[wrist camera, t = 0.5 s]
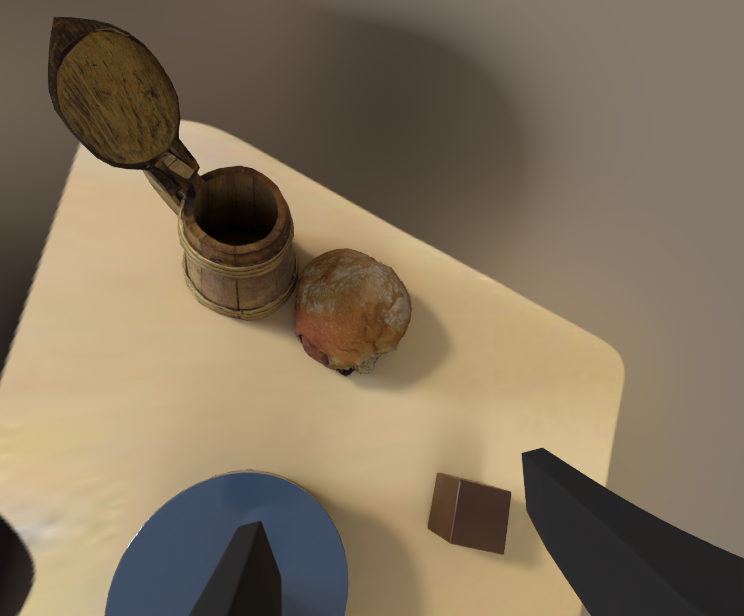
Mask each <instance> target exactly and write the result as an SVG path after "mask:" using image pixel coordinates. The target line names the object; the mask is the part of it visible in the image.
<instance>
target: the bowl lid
mask: <svg viewBox="0 0 744 616" xmlns="http://www.w3.org/2000/svg"><path fill="white" fill-rule="evenodd" d="M257 521H262V524H263V527H264V530H265V532H266V535H267V538H268V541H269V544H270V546H271V549H272V552H273V555H274V558H275V561H276V563H277V566H278V569H279V572H280V575H281V587H282V616H344V615H345V610H346V603H347V596H348V570H347V562H346V556H345V551H344V548H343V545H342V541H341V538H340V536H339V533H338V531H337V529H336V527H335V525H334V523H333V521H332V520H331V518H330V517H329V515H328V513H327V512H326V510H325V509H324V508H323V507H322V506H321V505H320V503H319V502H318V501H317V500H316V499H315V498H314V497H313V496H312V495H310V494H309V493H308V492H307V491H306V490H304V489H303V488H301V487H300V486H298V485H296V484H295V483H293V482H291V481H288V480H286V479H284V478H281V477H278V476H275V475H271V474H266V473H260V472H235V473H227V474H223V475H219V476H215V477H211V478H209V479H206V480H204V481H201V482H199V483H196V484H194V485H193V486H191V487H189V488H187V489H185V490H183V491H182V492H180V493H179V494H177V495H176V496H174V497H173V498H171V499H170V500H169V501H167V502H166V503H165V504H164V505H163V506H162V507H161V508H159V509H158V510H157V511H156V512H155V513H154V514H153V515H152V516H151V517H150V518H149V519H148V520H147V521H146V523H145V524H144V525H143V526H142V527H141V528H140V530H139V531H138V532H137V534H136V535H135V536H134V538H133V539H132V541H131V542H130V544H129V546H128V547H127V549H126V551H125V552H124V554H123V556H122V558H121V560H120V562H119V564H118V567H117V569H116V571H115V574H114V576H113V579H112V583H111V586H110V589H109V592H108V597H107V603H106V608H105V616H188V615H189V613H190V612H191V610H192V608H193V607H194V605H195V603H196V601H197V600H198V598H199V596H200V594H201V593H202V591H203V589H204V587H205V586H206V584H207V582H208V580H209V579H210V577H211V575H212V573H213V571H214V569H215V568H216V566H217V564H218V562H219V560H220V558H221V557H222V555H223V553H224V551H225V549H226V547H227V545H228V543H229V542H230V540H231V538H232V536H233V534H234V532H235V530H236V529H237V528H238V526H242V525H246V524H250V523H254V522H257Z"/></svg>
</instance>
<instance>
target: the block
mask: <svg viewBox="0 0 744 616" xmlns="http://www.w3.org/2000/svg"><path fill="white" fill-rule="evenodd" d="M510 500H511V492H510V491H507V490H503V489H500V488H497V487H493V486H490V485H486V484H483V483H479V482H475V481H471V480H467V479H462V478H458V477H454V476H450V475H446V474H442V473H437V477H436V483H435V488H434V494H433V500H432V506H431V511H430V517H429V523H428V529H429V530H431V531H432V532H434V533H435V534H437V535H438V536H440V537H441V538H443V539H444V540H446V541H447V542H449V543H451V544H455V545H459V546H464V547H469V548H474V549H478V550H483V551H488V552H493V553H497V554H502V555H503V554H504V549H505V541H506V533H507V525H508V516H509V508H510Z"/></svg>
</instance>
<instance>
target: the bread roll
mask: <svg viewBox="0 0 744 616" xmlns="http://www.w3.org/2000/svg"><path fill="white" fill-rule="evenodd" d="M411 311H412V308H411V300H410V296H409V294H408V291H407V289H406V287H405V285H404V284H403V282H402V281H400V279H399V277H398V276H397V275H396V273H395V272H394V270H393V269H392V267H389V266H387V265H385V264H382V263H381V262H377V261H376V260H375V259H374V258H372V257H369V256H368V255H366V254H364V253H362V252H359V251H355V250H352V249H336V250H332V251H329V252H326V253H324V254H322V255H320V256H319V257H317V258H315V259H314V260H313V261H312V262H311V263H310V264H309V265H308V266H307V267H306V268H305V269H304V270H303V272H302V276H301V277H300V279H299V285H298V288H297V301H296V303H295V319H296V320H295V326H296V335H297V338H298V340H299V341H300V343H301V344H302V345H303V348H304V350H305V351H306V353H307V354H308V355H309V356H311V357H312V358H313V359H315V360H316V361H318V362H320V363H322V364H323V365H324V366H326V367H328V368H330V369H334V370H336V371H338V372H339V373H341V374H342V375H344V376H347V375H350V374H351V373H352V372H353V371H354V370H356V371H357V372H358V373H360V374H361V373H369V372H370V371H372V370H373V368H374V363H375V362H376V360H377V359H378V357H380V355H381V354H385V353H387V352H389V351H394V350H396V349H397V345H398V343H399V341H400V340H401V338H402V337H403V336H404V335H405V333H406V330H407V328H408V324H409V322H410V318H411Z"/></svg>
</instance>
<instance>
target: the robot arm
mask: <svg viewBox="0 0 744 616" xmlns="http://www.w3.org/2000/svg"><path fill="white" fill-rule="evenodd" d="M522 463H523V475H524V486H525V498H526V509H527V513H528V515H529V517H530V519H531V520H532V522H533V524H534V526H535V528H536V530H537V532H538V534H539V536H540V538H541V540H542V542H543V543H544V545H545V547H546V549H547V550H548V552H549V553H550V555H551V557H552V558H553V560H554V561H555V563H556V564H557V566H558V567H559V569H560V570H561V572H562V573H563V575H564V576H565V578H566V579H567V581H568V582H569V584H570V585H571V587H572V588H573V590H574V591H575V593H576V594H577V596H578V597H579V599H580V600H581V602H582V603H583V605H584V606H585V608H586V609H587V610H588V612H589V613H590V615H591V616H744V558H742V557H739V556H737V555H735V554H732V553H730V552H728V551H725V550H723V549H721V548H719V547H716V546H714V545H712V544H710V543H708V542H706V541H704V540H701V539H699V538H697V537H695V536H693V535H691V534H689V533H686V532H685V531H682V530H680V529H679V528H677V527H675V526H673V525H671V524H669V523H667V522H665V521H663V520H661V519H659V518H657V517H656V516H654V515H652V514H650V513H648V512H646V511H645V510H643V509H641V508H639V507H637V506H635V505H634V504H632V503H630V502H628V501H627V500H625V499H623V498H622V497H620V496H618V495H617V494H615V493H613V492H612V491H610V490H608V489H606V488H605V487H603V486H602V485H600V484H598V483H597V482H595V481H594V480H592V479H590V478H589V477H587V476H586V475H584V474H583V473H581V472H580V471H578V470H576V469H575V468H573V467H572V466H570V465H569V464H567V463H566V462H564V461H563V460H561V459H559V458H558V457H556V456H555V455H553V454H552V453H550V452H549V451H547V450H545V449H544V448H540V449H536V450H532V451H528V452H524V453H522ZM188 616H282V587H281V575H280V572H279V569H278V566H277V563H276V561H275V558H274V555H273V552H272V549H271V546H270V544H269V541H268V538H267V535H266V532H265V530H264V527H263V524H262V521H257V522H254V523H250V524H246V525H242V526H238V528H237V529H236V530H235V532H234V534H233V536H232V538H231V540H230V542H229V543H228V545H227V547H226V549H225V551H224V553H223V555H222V557H221V558H220V560H219V562H218V564H217V566H216V568H215V569H214V571H213V573H212V575H211V577H210V579H209V580H208V582H207V584H206V586H205V587H204V589H203V591H202V593H201V594H200V596H199V598H198V600H197V601H196V603H195V605H194V607H193V608H192V610H191V612H190V613H189V615H188Z"/></svg>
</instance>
